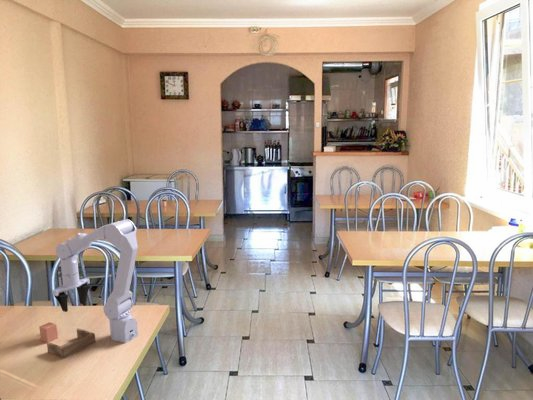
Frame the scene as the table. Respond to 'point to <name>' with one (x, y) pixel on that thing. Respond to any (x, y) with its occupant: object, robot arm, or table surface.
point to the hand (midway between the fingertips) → (73, 307)
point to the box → (72, 344)
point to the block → (48, 332)
